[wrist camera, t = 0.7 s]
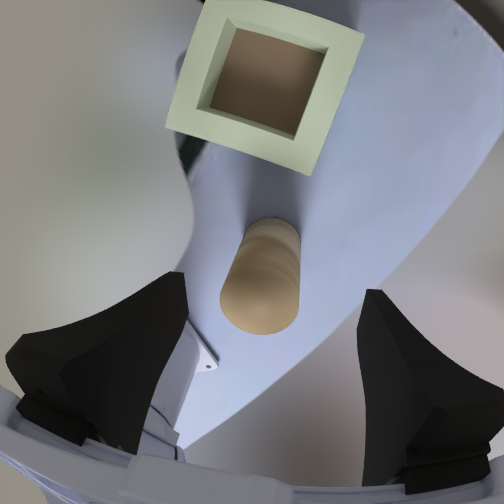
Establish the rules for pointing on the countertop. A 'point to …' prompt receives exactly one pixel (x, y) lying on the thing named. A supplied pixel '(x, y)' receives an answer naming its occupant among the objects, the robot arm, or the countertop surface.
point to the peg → (264, 278)
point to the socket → (263, 80)
